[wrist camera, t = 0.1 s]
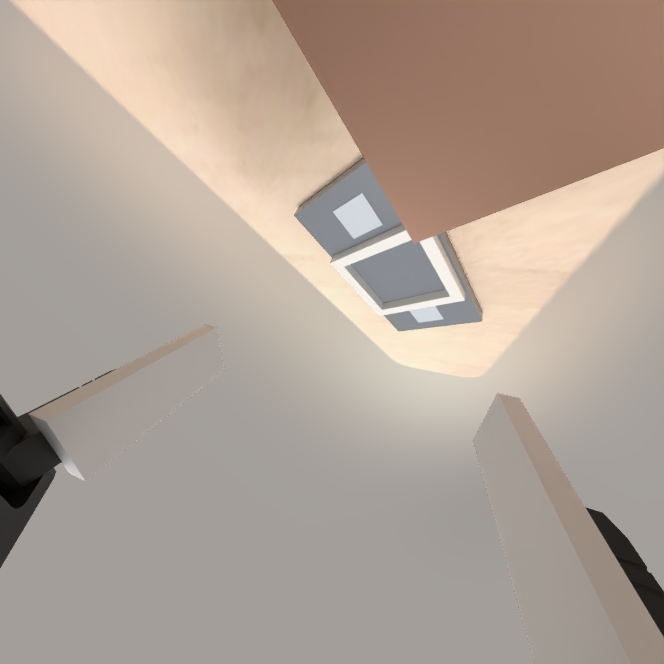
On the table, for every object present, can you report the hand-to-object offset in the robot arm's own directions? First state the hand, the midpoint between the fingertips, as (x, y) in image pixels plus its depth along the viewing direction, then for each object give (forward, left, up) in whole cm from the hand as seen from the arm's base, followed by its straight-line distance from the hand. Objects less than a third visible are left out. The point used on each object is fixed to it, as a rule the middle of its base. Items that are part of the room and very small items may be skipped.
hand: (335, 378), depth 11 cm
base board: (+7, +2, -15) cm, 17 cm away
